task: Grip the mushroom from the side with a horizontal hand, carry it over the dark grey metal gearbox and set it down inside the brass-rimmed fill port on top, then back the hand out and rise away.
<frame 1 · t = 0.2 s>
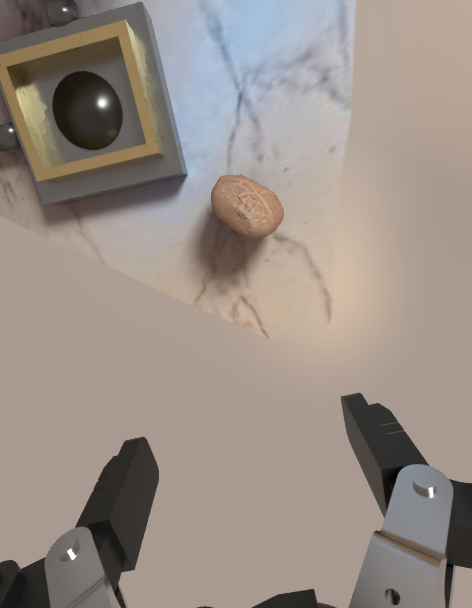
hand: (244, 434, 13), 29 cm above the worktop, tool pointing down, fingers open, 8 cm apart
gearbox: (100, 119, 36), on the worktop
mushroom: (246, 203, 38), on the worktop
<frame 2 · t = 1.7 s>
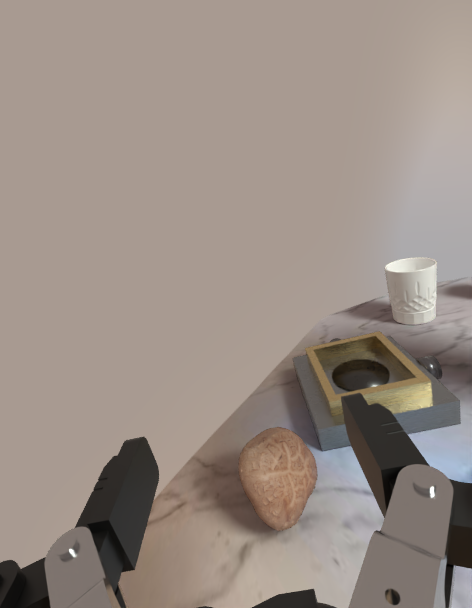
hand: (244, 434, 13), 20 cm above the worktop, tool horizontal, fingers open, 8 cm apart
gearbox: (362, 394, 43), on the worktop
white cup: (413, 318, 59), on the worktop
mushroom: (291, 510, 31), on the worktop
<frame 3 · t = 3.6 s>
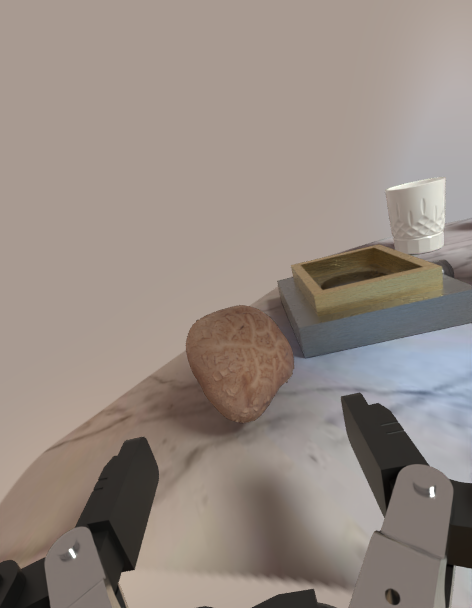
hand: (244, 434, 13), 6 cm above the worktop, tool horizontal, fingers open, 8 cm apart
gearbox: (357, 309, 36), on the worktop
white cup: (418, 250, 52), on the worktop
mushroom: (260, 413, 23), on the worktop
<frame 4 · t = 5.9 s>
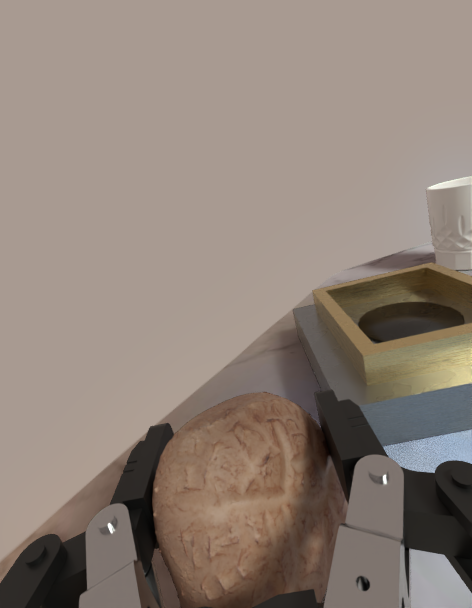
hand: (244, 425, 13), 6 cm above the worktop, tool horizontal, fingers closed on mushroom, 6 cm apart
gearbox: (410, 356, 25), on the worktop
white cup: (466, 263, 41), on the worktop
mushroom: (285, 588, 13), on the worktop, touching gripper
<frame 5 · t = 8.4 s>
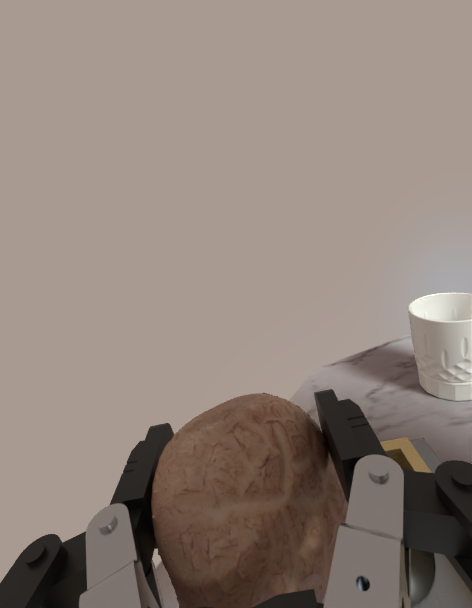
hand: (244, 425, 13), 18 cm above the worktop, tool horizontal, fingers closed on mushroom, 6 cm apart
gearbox: (377, 576, 22), on the worktop
white cup: (451, 385, 38), on the worktop
mushroom: (285, 590, 13), point 11 cm above the worktop, touching gripper
when the fingers open (10 cm above the worktop, at t = 10.9 s): mushroom drops 1 cm, resting on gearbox.
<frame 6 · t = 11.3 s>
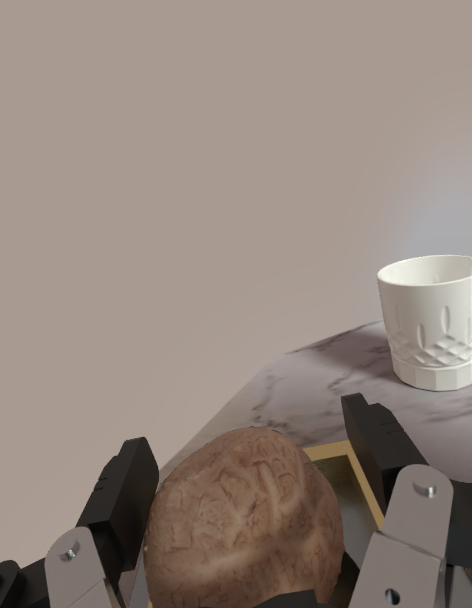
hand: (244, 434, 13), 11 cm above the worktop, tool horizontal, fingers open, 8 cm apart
white cup: (433, 372, 30), on the worktop
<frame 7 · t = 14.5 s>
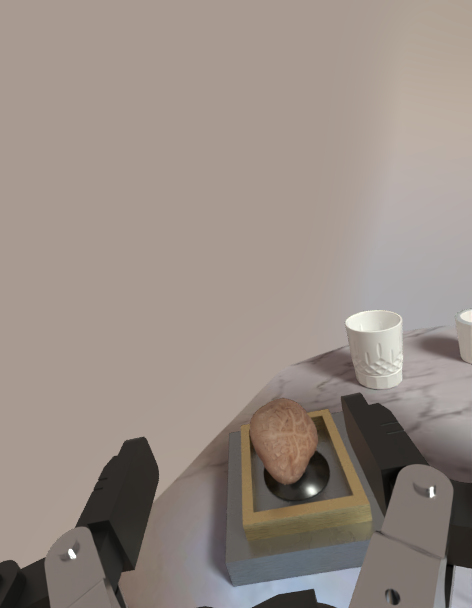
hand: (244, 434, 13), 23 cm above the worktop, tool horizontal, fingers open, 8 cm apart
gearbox: (300, 492, 35), on the worktop
white cup: (379, 378, 51), on the worktop
mushroom: (294, 472, 34), point 3 cm above the worktop, touching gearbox
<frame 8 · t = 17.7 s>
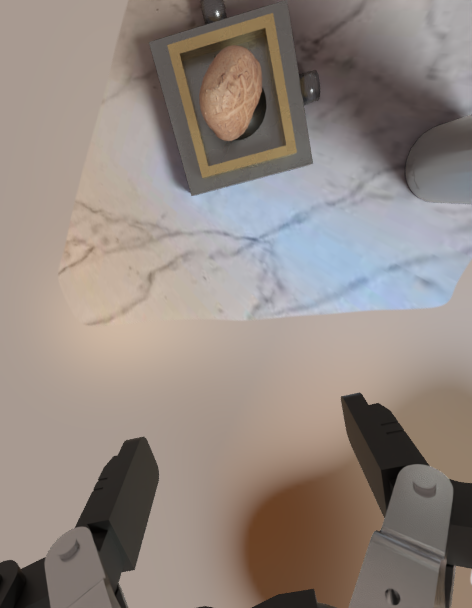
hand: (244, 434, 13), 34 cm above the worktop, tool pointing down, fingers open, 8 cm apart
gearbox: (235, 112, 39), on the worktop
mushroom: (234, 107, 36), point 3 cm above the worktop, touching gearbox
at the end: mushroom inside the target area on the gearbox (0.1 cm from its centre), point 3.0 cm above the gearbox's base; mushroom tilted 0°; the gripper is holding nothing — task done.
